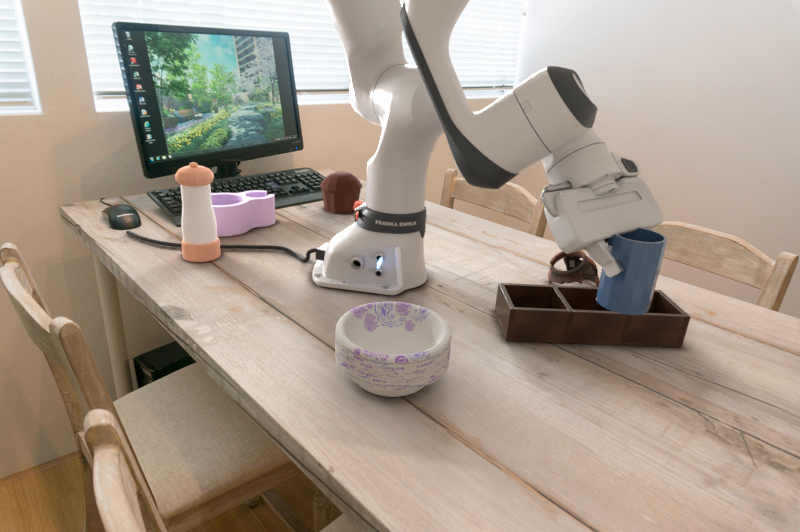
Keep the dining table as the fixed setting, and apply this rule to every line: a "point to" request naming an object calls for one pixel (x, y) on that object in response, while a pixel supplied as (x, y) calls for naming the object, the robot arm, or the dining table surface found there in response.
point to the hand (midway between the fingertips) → (635, 268)
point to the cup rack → (584, 318)
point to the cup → (632, 272)
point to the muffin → (340, 192)
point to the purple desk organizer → (242, 211)
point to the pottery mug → (573, 269)
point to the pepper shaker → (197, 214)
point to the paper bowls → (392, 347)
